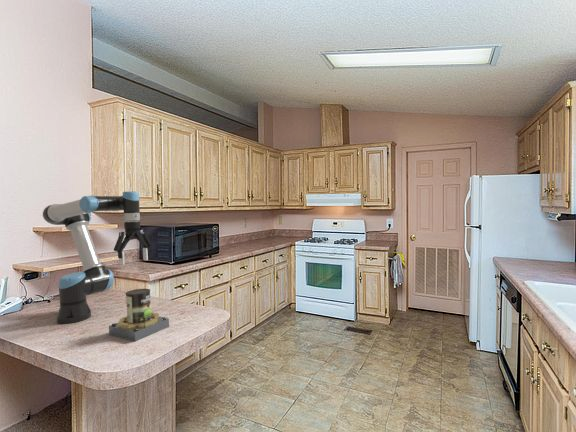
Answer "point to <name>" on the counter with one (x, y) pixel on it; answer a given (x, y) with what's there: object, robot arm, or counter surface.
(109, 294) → the counter surface
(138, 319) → the coffee can
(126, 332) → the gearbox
